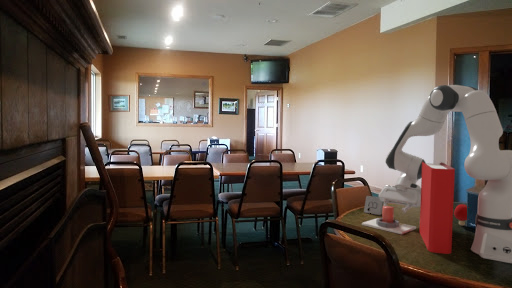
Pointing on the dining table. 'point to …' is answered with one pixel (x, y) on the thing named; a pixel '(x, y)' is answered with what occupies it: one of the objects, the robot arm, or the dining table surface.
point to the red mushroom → (461, 213)
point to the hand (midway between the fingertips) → (393, 210)
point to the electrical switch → (373, 205)
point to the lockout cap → (387, 214)
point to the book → (437, 207)
